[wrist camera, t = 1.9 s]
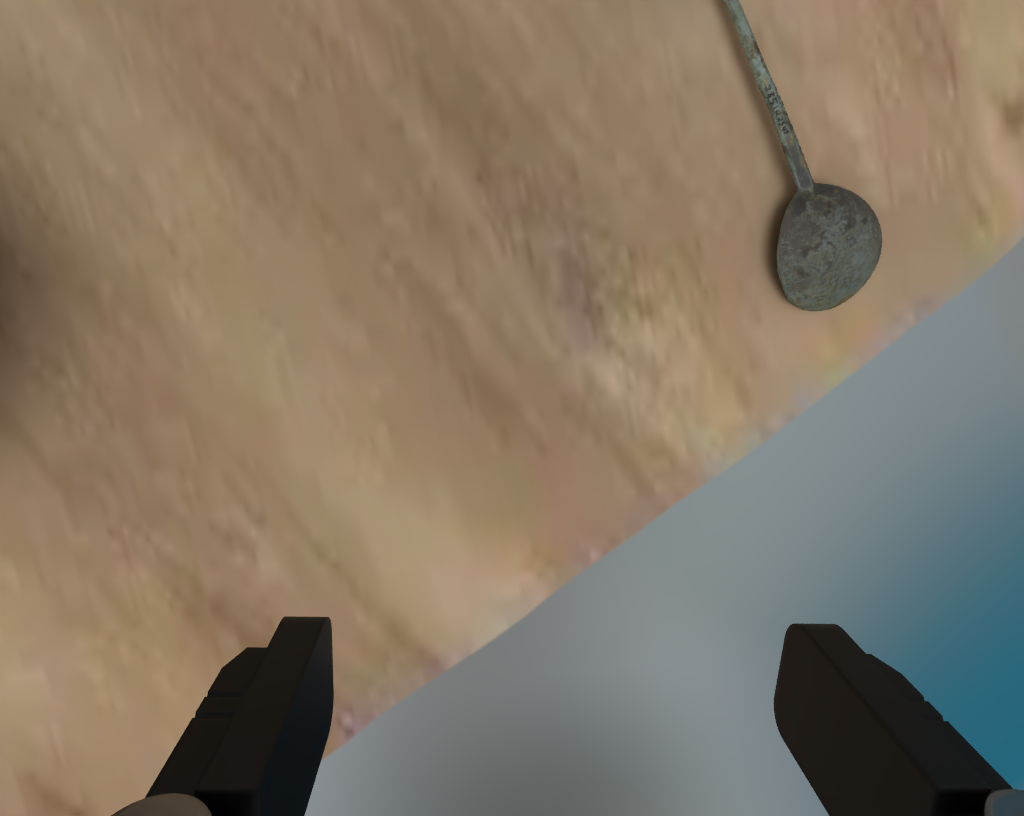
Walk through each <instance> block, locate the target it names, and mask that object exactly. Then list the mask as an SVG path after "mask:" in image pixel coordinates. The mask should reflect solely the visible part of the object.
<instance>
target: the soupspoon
mask: <svg viewBox="0 0 1024 816" xmlns="http://www.w3.org/2000/svg"><path fill="white" fill-rule="evenodd" d="M722 1H723V2H725V3H726V4H727V6H728V9H729V11H730V14H731V17H732V20H733V22H734V25H735V27H736V30H737V33H738V35H739V38H740V40H741V43H742V46H743V48H744V51H745V53H746V56H747V59H748V61H749V64H750V66H751V69H752V71H753V74H754V76H755V79H756V81H757V84H758V86H759V89H760V91H761V94H762V96H763V98H764V101H765V103H766V105H767V108H768V110H769V113H770V115H771V118H772V120H773V123H774V126H775V128H776V131H777V134H778V137H779V140H780V142H781V145H782V148H783V151H784V154H785V157H786V160H787V163H788V166H789V169H790V172H791V175H792V178H793V180H794V183H795V187H796V194H795V195H794V197H793V199H792V200H791V202H790V204H789V206H788V207H787V209H786V212H785V214H784V217H783V221H782V223H781V228H780V233H779V239H778V244H777V256H776V259H777V272H778V276H779V279H780V281H781V285H782V287H783V290H784V293H785V295H786V297H787V299H788V300H789V301H790V302H791V303H793V304H794V305H796V306H797V307H800V308H801V309H803V310H809V311H822V310H828V309H832V308H834V307H836V306H838V305H840V304H842V303H844V302H845V301H847V300H848V299H849V298H851V297H852V296H853V295H854V294H856V293H857V292H858V291H859V290H860V289H861V288H862V287H863V285H864V284H865V283H866V282H867V280H868V279H869V278H870V276H871V274H872V273H873V271H874V269H875V267H876V265H877V263H878V260H879V257H880V254H881V247H882V235H881V228H880V224H879V222H878V219H877V217H876V214H875V213H874V211H873V210H872V209H871V207H870V206H869V205H868V204H867V202H865V200H863V199H862V198H861V197H859V196H858V195H857V194H855V193H853V192H851V191H849V190H846V189H844V188H842V187H839V186H834V185H829V184H818V183H814V181H813V179H812V177H811V174H810V172H809V169H808V167H807V164H806V161H805V158H804V155H803V153H802V151H801V147H800V145H799V143H798V140H797V138H796V135H795V132H794V130H793V127H792V124H791V123H790V120H789V118H788V114H787V113H786V111H785V108H784V106H783V105H784V104H783V102H782V101H781V97H780V96H779V95H778V92H777V88H776V86H775V84H774V82H773V80H772V78H771V75H770V73H769V71H768V68H767V66H766V64H765V62H764V59H763V57H762V55H761V52H760V50H759V48H758V45H757V43H756V40H755V38H754V35H753V33H752V30H751V28H750V25H749V23H748V20H747V18H746V16H745V14H744V11H743V9H742V7H741V5H740V3H739V0H722Z"/></svg>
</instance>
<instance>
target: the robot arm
mask: <svg viewBox="0 0 1024 816" xmlns="http://www.w3.org/2000/svg"><path fill="white" fill-rule="evenodd" d="M333 698H334V691H333V657H332V627H331V620H330V618H329V617H284V618H283V619H282V620H281V622H280V624H279V626H278V628H277V630H276V631H275V633H274V635H273V637H272V639H271V641H270V643H269V645H268V647H267V648H255V647H247V648H246V649H245V650H244V651H242V652H241V653H240V654H239V655H238V656H236V657H235V658H234V659H233V660H231V661H230V662H229V663H228V664H226V665H225V666H224V667H223V668H222V669H221V671H220V673H219V674H218V676H217V678H216V679H215V681H214V683H213V684H212V686H211V688H210V689H209V691H208V695H207V697H205V698H204V699H203V701H202V703H201V704H200V706H199V708H198V709H197V711H196V715H195V718H192V720H191V721H190V723H189V725H188V726H187V728H186V730H185V731H184V733H183V735H182V736H181V738H180V740H179V741H178V743H177V745H176V746H175V748H174V750H173V752H172V753H171V755H170V757H169V758H168V760H167V762H166V763H165V765H164V767H163V768H162V770H161V772H160V773H159V775H158V777H157V778H156V780H155V782H154V783H153V785H152V787H151V788H150V790H149V792H148V794H147V795H146V797H145V798H144V799H142V800H139V801H137V802H134V803H132V804H130V805H128V806H126V807H124V808H122V809H121V810H119V811H117V812H116V813H114V814H113V815H111V816H304V815H305V812H306V808H307V805H308V802H309V798H310V795H311V792H312V788H313V785H314V782H315V778H316V775H317V772H318V768H319V765H320V762H321V759H322V755H323V752H324V749H325V745H326V742H327V739H328V735H329V731H330V726H331V720H332V712H333ZM774 713H775V719H776V723H777V727H778V730H779V732H780V734H781V736H782V738H783V740H784V742H785V743H786V745H787V747H788V748H789V750H790V752H791V753H792V755H793V757H794V758H795V760H796V761H797V763H798V765H799V766H800V768H801V770H802V771H803V773H804V774H805V776H806V778H807V780H808V781H809V783H810V785H811V786H812V787H813V789H814V791H815V793H816V794H817V796H818V798H819V799H820V801H821V803H822V804H823V806H824V808H825V809H826V811H827V812H828V814H829V816H1024V791H1023V790H1017V789H1013V788H1012V787H1011V786H1010V785H1009V784H1008V783H1007V782H1006V781H1005V780H1004V779H1003V778H1002V777H1001V776H1000V775H999V774H998V773H997V772H996V771H995V770H994V769H993V768H992V767H991V765H989V763H987V762H986V760H984V758H983V757H982V756H981V755H980V754H979V753H978V752H977V751H976V750H975V749H974V748H973V747H972V746H971V745H970V744H969V743H968V742H967V741H966V740H965V739H964V738H963V737H962V736H961V735H960V734H959V733H958V732H957V731H956V730H955V728H954V727H953V726H951V724H950V723H949V722H948V721H943V718H942V715H941V714H940V713H939V712H938V711H937V710H936V709H935V708H934V707H933V706H932V705H931V704H930V703H929V702H928V701H924V697H923V696H922V694H921V693H920V692H919V691H918V690H917V689H916V688H915V687H914V686H913V685H912V684H911V683H910V682H909V681H908V680H907V679H906V678H905V677H904V676H903V675H902V674H901V673H899V672H898V671H896V670H895V669H893V668H892V667H890V666H889V665H887V664H885V663H884V662H882V661H881V660H879V659H878V658H876V657H875V656H873V655H871V654H866V653H865V652H864V651H863V650H862V649H861V648H860V647H859V646H858V645H857V644H856V643H855V642H854V641H853V639H852V638H851V637H850V636H849V635H848V634H847V633H846V632H845V631H844V630H843V629H842V628H841V627H840V626H838V625H835V624H792V625H790V626H789V628H788V629H787V631H786V634H785V639H784V645H783V650H782V656H781V662H780V668H779V673H778V679H777V685H776V690H775V695H774Z"/></svg>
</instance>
